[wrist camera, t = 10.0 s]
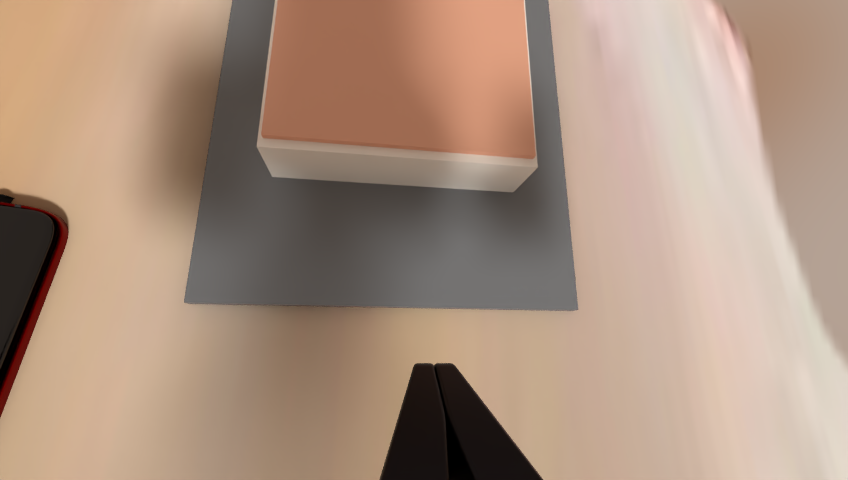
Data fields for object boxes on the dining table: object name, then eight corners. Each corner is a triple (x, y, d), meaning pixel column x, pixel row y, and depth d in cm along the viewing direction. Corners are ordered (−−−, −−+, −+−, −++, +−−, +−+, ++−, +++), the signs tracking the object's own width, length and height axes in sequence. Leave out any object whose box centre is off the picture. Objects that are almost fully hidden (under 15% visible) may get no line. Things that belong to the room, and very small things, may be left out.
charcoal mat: (571, 310, 20) (578, 309, 20) (189, 303, 17) (183, 302, 17) (543, 6, 25) (547, -2, 25) (242, -36, 22) (239, -46, 22)
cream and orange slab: (540, 164, 18) (526, -17, 20) (254, 142, 16) (279, -52, 18) (513, 192, 21) (503, 33, 23) (272, 176, 19) (291, 6, 22)
